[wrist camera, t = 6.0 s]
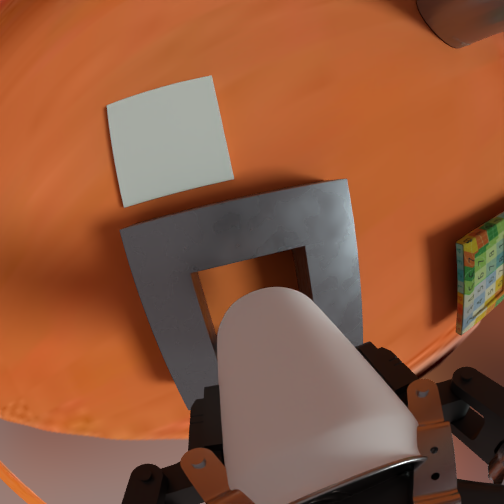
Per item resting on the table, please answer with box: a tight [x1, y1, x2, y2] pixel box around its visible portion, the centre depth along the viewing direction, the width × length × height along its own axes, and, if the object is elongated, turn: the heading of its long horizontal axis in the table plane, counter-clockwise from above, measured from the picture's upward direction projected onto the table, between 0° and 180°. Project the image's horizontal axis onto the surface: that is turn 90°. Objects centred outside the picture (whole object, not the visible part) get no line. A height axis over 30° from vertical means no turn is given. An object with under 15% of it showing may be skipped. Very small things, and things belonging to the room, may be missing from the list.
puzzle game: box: [456, 211, 504, 335], centre depth 25 cm, size 12×5×20 cm
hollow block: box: [120, 179, 363, 410], centre depth 21 cm, size 16×16×4 cm
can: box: [217, 287, 428, 504], centre depth 10 cm, size 6×6×12 cm
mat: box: [107, 76, 234, 208], centre depth 19 cm, size 9×9×1 cm
